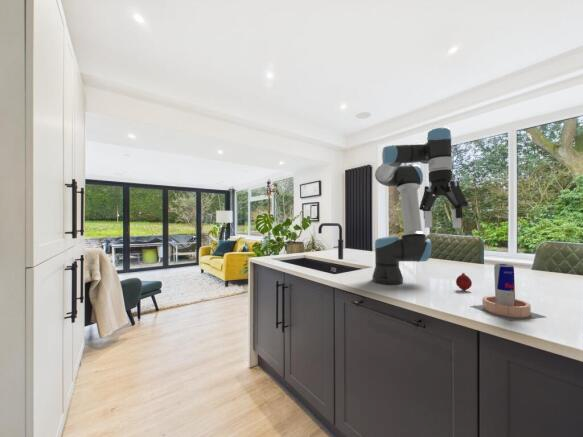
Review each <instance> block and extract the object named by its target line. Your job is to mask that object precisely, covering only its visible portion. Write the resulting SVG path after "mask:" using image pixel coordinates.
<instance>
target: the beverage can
mask: <svg viewBox="0 0 583 437" xmlns="http://www.w3.org/2000/svg"><path fill="white" fill-rule="evenodd" d="M493 270H494V274H493V275H494V292H495V294H494V296H495V301H496V304H501V305H507V306H515V299H516V286H515V281H516V280H515V265H513V264H509V263H494V266H493Z"/></svg>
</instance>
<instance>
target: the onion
mask: <svg viewBox="0 0 583 437" xmlns="http://www.w3.org/2000/svg"><path fill="white" fill-rule="evenodd" d="M455 284H456V286H457V287H458V288H459V289H460V290H462V292H463V291H464V292H465V291H466V290H469V289H470V288H471V287H472V285H473V283H472V280H471V278H470V277H469V276H468V275H466V273H465V272H461V274H460V275H459V276H457V278H456V279H455Z"/></svg>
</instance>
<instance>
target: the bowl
mask: <svg viewBox="0 0 583 437" xmlns="http://www.w3.org/2000/svg"><path fill="white" fill-rule="evenodd" d="M482 305H483V308H484V310H486V311H488V312H490V313H493V314H497V315H501V316H506V317H513V318H527V317H530V313H531V312H532V308H531V306H532V305H531V303H529V302H527V301H524V300H521V299H517V298H515V306H507V305H501V304H496V301H495V295H488V296H483V297H482Z"/></svg>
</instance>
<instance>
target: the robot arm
mask: <svg viewBox="0 0 583 437" xmlns="http://www.w3.org/2000/svg"><path fill="white" fill-rule="evenodd" d="M426 140H427V142H425V143H411V144H396V145H394V144H393V145H387V146H384V147H383V149H382V152H381V153H382V154H381V157H382V158H381V160H382V164H380V165H379V166H378V167H377V169H376V170H375V173H374V177H375V179H376V181H377V182H378V183H379V184H381V185H383V186H385V187H396V190H397V191H398V192H399V193H400V203H401V204H400V205H401V213H402V225H403V226H402V227H403V234H402V235H401V237H400V238H399V236H396V235H394V236H393V235H392V236H386V237H385V236H383V237H379V238H376V239H375V242H374V252H375V254H374V256H375V266H374V270H373V273H372V282H374V283H376V282H377V283H376V284H381V283H382V285H400V284H403V283H404V277H403V274H402V271H401V269H400V262H417V263H419V262H420V263H421V262H427V261H429V259H430V258H431V255H432V241H431V240H430V239H429V238H427V235H426V233H425V232H423V229H422V222H421V221H422V220H421V211H423V219H424V228H426V229H427V228H433V218H432V217H433V214H432V207H433V205H434V204H435V202H436V200H437V199H438V198H439V197H442V196H444V197H445V198H446V199H447V201H448V202H449V203H450V204H451V205H452V209H451V210H452V228H453V229H462V218H463V209H464V208H466V207H468V205H469V203H468V201H467V200H466V197H465V195H464V193H463V191H462V189H461V187H460V182H459V180H453V171H452V168H453V161H452V134H451V128H449V127H437V128H433V129H431V130H429V131H428V132H427V138H426ZM413 163H416V164H413ZM417 163H421V164H425V165H428V182H429V183H430V185H425V186H424V192H423V195H422V199H421V201H420V205H419V196H418V195H419V194H418V190H419V189H420V187H421V185H423V181H424V173H423V169H422V168H421V167H420V165H419V164H417ZM402 164H404V165H402Z"/></svg>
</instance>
